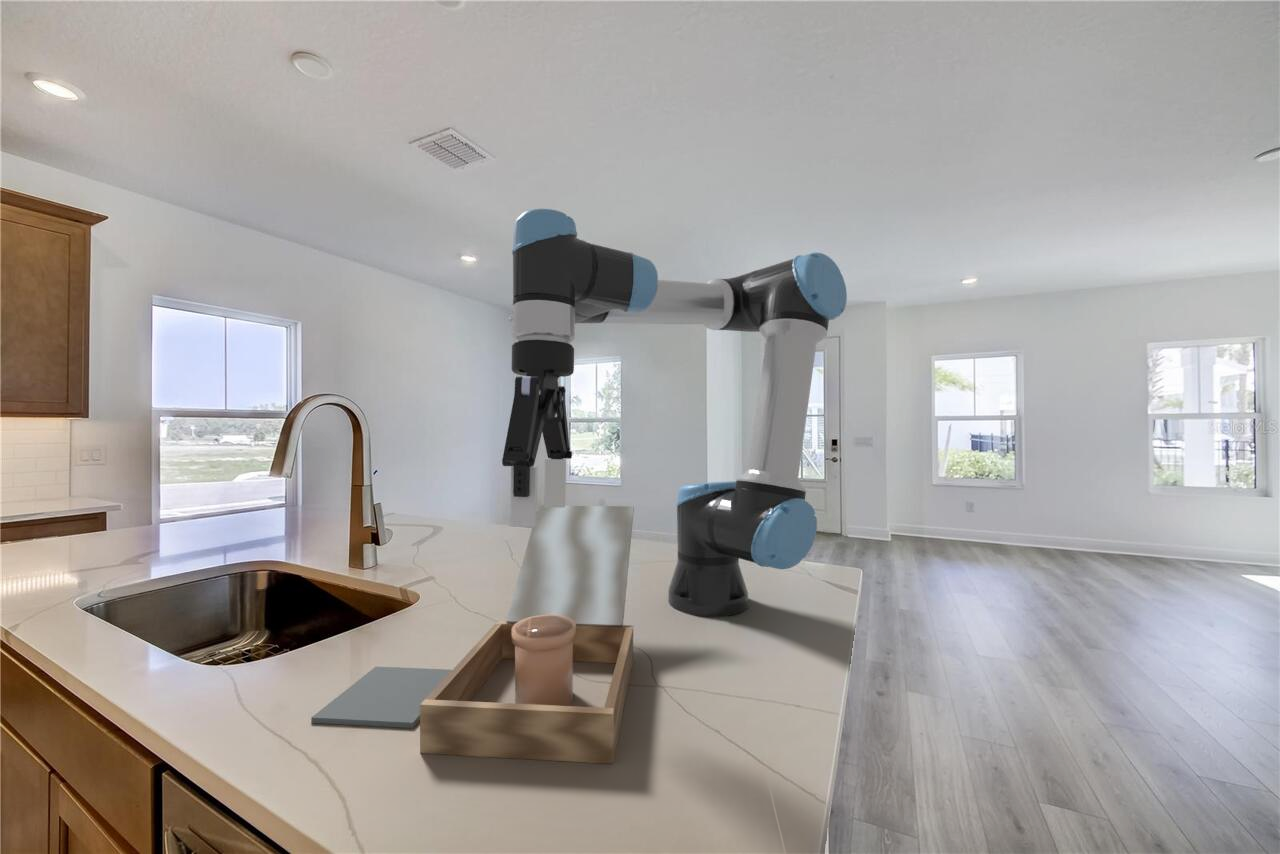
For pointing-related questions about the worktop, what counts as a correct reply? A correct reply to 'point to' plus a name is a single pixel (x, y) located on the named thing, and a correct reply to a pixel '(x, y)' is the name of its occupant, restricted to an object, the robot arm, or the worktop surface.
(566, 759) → the cold frame
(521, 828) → the worktop surface
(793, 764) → the worktop surface
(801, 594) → the worktop surface
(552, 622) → the pot
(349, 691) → the mat
